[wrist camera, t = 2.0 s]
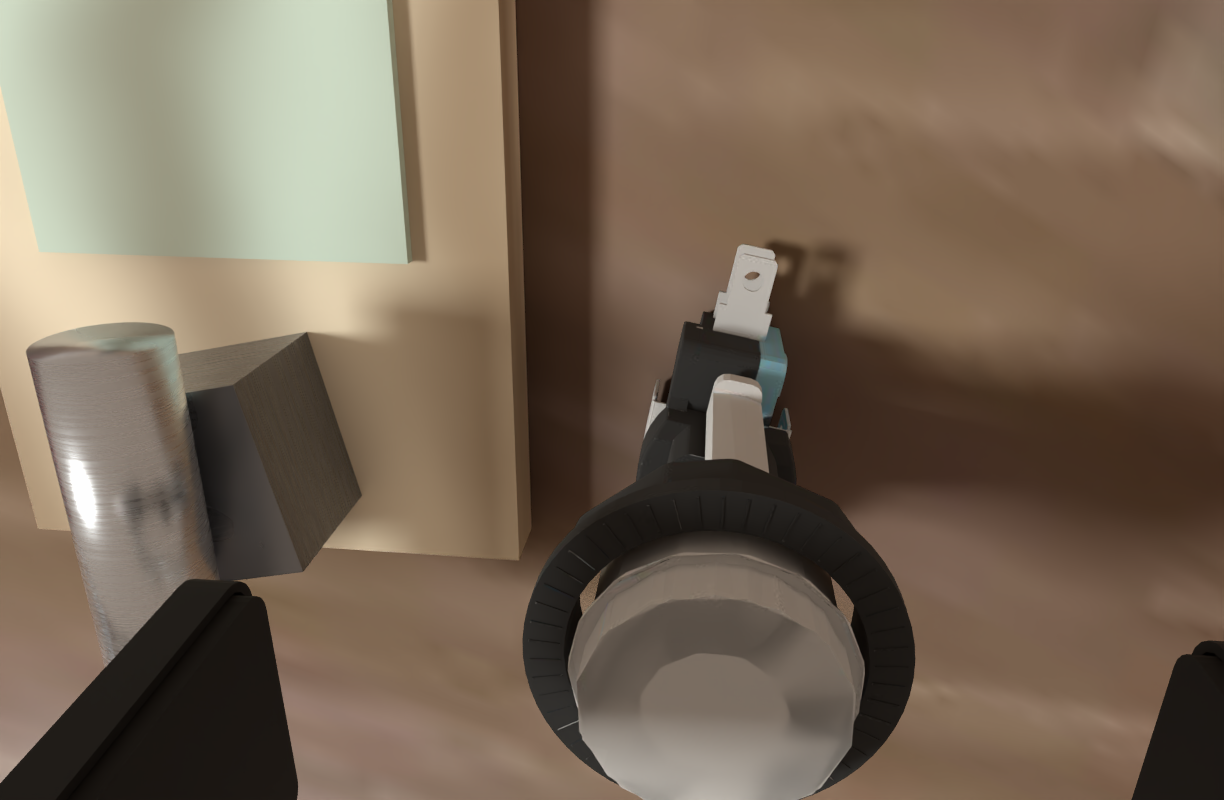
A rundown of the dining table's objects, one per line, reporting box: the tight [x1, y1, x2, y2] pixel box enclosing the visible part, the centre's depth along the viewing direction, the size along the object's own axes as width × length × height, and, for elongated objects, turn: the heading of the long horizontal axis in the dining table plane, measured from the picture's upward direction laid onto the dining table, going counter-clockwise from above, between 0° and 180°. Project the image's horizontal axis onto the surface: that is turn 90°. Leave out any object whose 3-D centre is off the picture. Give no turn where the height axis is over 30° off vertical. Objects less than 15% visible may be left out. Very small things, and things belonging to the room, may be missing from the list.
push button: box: [523, 244, 915, 800], centre depth 16 cm, size 7×5×10 cm
